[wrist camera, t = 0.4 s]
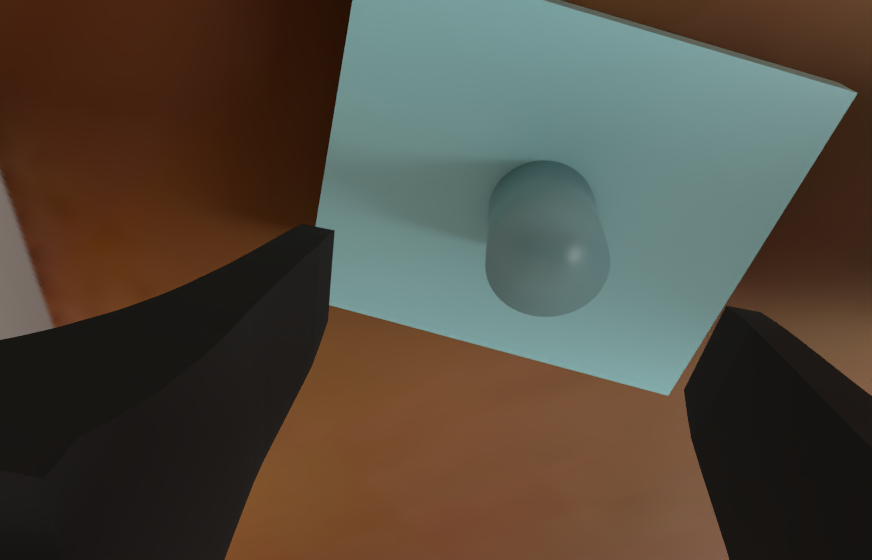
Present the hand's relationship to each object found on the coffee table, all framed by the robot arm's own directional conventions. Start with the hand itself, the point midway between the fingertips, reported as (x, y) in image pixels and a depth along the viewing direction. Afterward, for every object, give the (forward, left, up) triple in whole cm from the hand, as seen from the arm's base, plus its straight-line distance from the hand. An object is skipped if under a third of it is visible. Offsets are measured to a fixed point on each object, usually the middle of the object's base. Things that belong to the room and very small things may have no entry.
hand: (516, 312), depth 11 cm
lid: (-1, 0, -7) cm, 7 cm away
